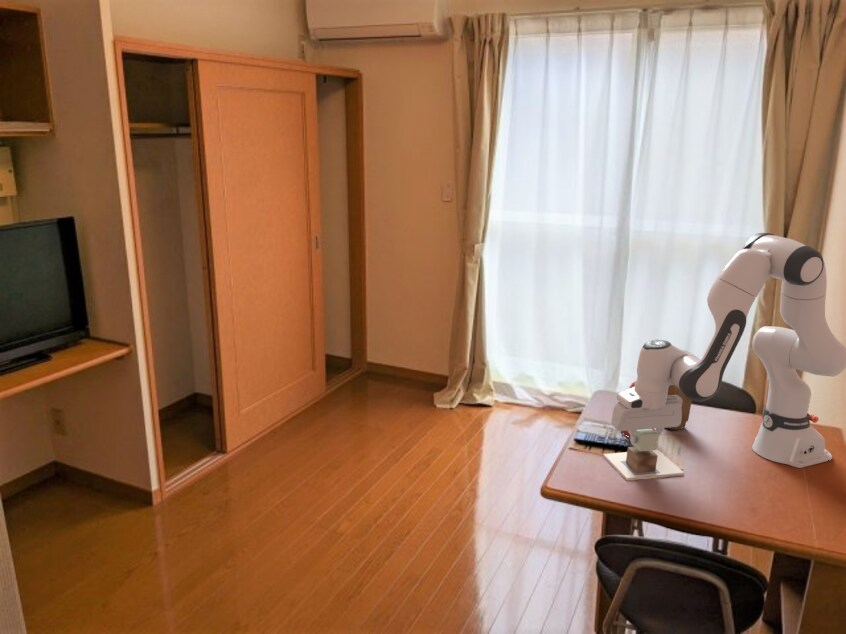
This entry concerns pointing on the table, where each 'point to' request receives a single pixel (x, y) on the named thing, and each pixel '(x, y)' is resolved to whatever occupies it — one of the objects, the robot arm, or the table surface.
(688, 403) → the block
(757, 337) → the robot arm
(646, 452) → the walnut cube
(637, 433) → the sage cube
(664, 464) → the white flat board
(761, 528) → the table surface
